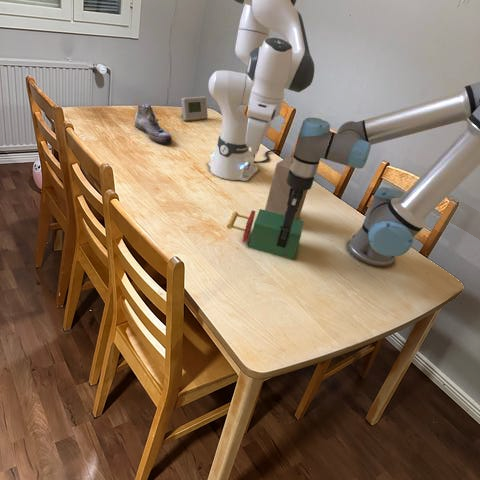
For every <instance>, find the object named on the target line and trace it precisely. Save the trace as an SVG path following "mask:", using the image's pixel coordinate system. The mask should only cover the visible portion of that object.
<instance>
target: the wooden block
mask: <svg viewBox="0 0 480 480" xmlns="http://www.w3.org/2000/svg"><path fill="white" fill-rule="evenodd" d="M290 159H293V156H288V157H286V158H284V159H282V160H280V161H278V162H276V164H275V168H274V169H275V170H274V173H273V176H272V180H271V185H270V188H269V191H268V195H267V200H266V204H265V208H264V210H266V211H269V212H273V213H277V214H280V215H284V216H285V213H286V211H287V207H288V206H287V202H288V199H289V192H290V189H291V188H292V187H290V186H289V185H288V184H287V182H286V180H287V176H288V173H289V170H290V166H291V163H292V162H290ZM308 191H309V190H306V191H305V190H303V196H302V199H301V200H300V203H299V207H298V208H297V212H295V216H294V218H295V219H298V218H300V217H301V213H302V210H303V207H304V203H305V200H306V197H307V194H308Z"/></svg>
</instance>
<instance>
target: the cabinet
mask: <svg viewBox="0 0 480 480" xmlns="http://www.w3.org/2000/svg"><path fill="white" fill-rule="evenodd" d="M284 219H285V216H284V215H280V214H277V213H273V212H269V211H266V210H265V209H263V208H262V209H261V208H259V209H258V213H257V216H256V218H255V219H254V222H253V226H252V227H253V228H252V230H251V231H252V232H251V236H250V239H249V244H248V248H251V249H255V250H258V251H262V252H265V253H269V254H272V255H277V256H280V257H282V258H287V259H290V260H295V256H296V253H297V250H298V246H299V243H300V241H301V237H302V232H303V227H304V220H303V219H298V218H297V219H295V218H294V219H293V223H292V226H291V231H290V234H289V237H288V240H287V244H286V247H285V248H283V247H279V246H277V242H278V238H279V235H280V232H281V228H280V226H283V223H284Z"/></svg>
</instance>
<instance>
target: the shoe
mask: <svg viewBox="0 0 480 480" xmlns="http://www.w3.org/2000/svg"><path fill="white" fill-rule="evenodd" d="M155 113H156V114H158V111H157V110H153V108H152V105H151V104H148V103H146V102H144V104H141V103H140V102H138V106H137V108H136V112H135V117H134V127H135V128H137V129H139V130H140V131H142V132H144V133H146V134H147V137H148V138H149V140H151V141H152V142H155V143H157V144H160V145H171V143H172V136H171V134H170V133H169V132H168V131H166V130H165V129H163V128H162V127H161V126H160V123H159V119H158V118H156V115H155Z"/></svg>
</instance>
